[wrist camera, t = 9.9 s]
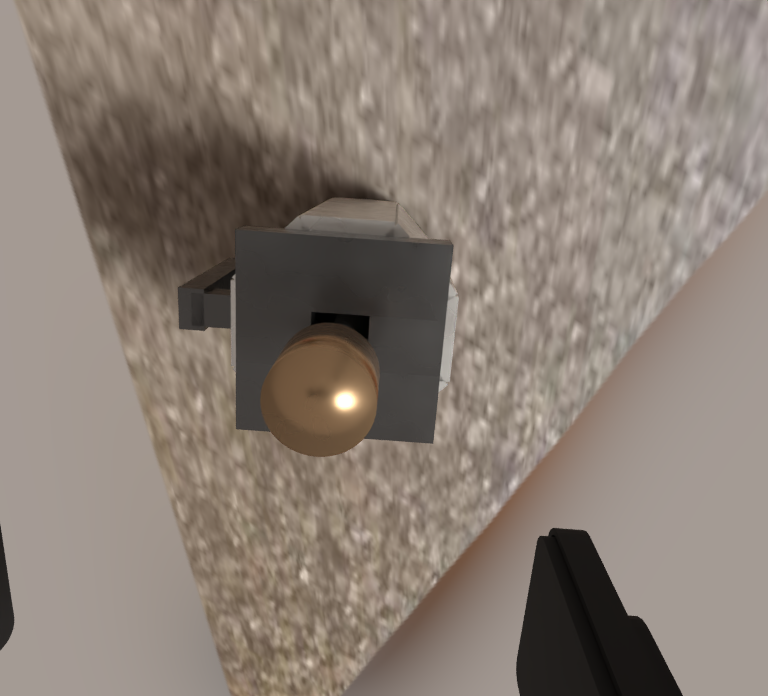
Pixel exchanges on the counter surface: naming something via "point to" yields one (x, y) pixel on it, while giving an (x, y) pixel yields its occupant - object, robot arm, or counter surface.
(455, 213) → the counter surface
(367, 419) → the plunger
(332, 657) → the counter surface
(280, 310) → the french press
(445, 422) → the counter surface
